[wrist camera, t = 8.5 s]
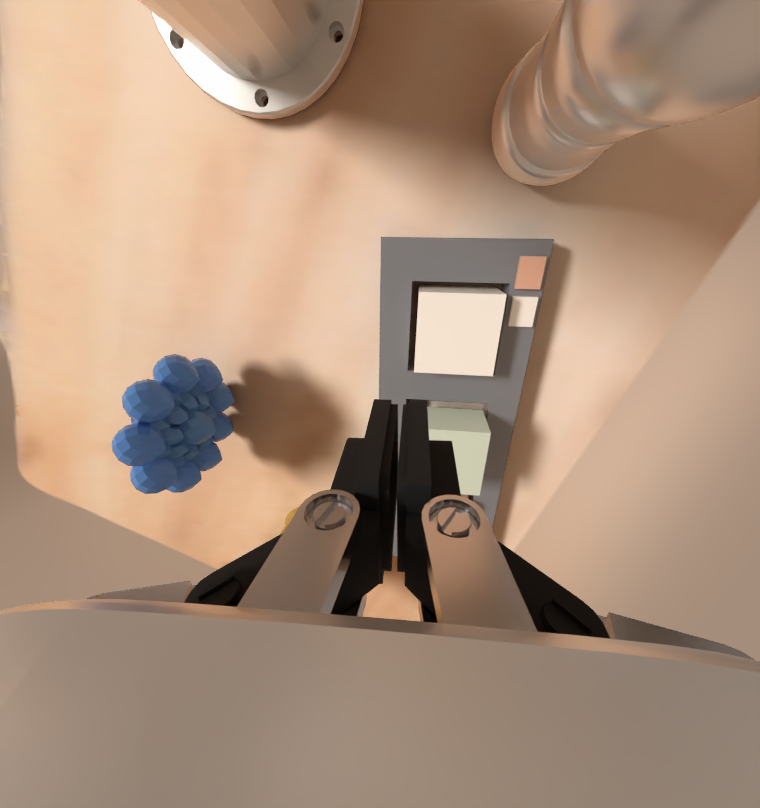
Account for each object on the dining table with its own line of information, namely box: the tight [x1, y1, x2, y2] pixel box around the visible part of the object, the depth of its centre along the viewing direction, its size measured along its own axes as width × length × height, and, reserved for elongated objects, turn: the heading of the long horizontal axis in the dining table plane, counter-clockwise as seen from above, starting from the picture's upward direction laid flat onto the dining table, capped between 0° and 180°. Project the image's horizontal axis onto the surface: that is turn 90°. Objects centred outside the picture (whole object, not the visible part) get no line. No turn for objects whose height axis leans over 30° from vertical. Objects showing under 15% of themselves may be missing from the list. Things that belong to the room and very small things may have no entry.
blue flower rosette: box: [112, 354, 235, 494], centre depth 26 cm, size 12×7×12 cm, turn 170°
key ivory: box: [414, 285, 507, 376], centre depth 25 cm, size 6×6×4 cm
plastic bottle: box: [492, 0, 760, 186], centre depth 12 cm, size 6×7×20 cm
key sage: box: [427, 407, 491, 496], centre depth 27 cm, size 6×6×4 cm
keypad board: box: [379, 237, 554, 557], centre depth 29 cm, size 30×11×2 cm, turn 179°
